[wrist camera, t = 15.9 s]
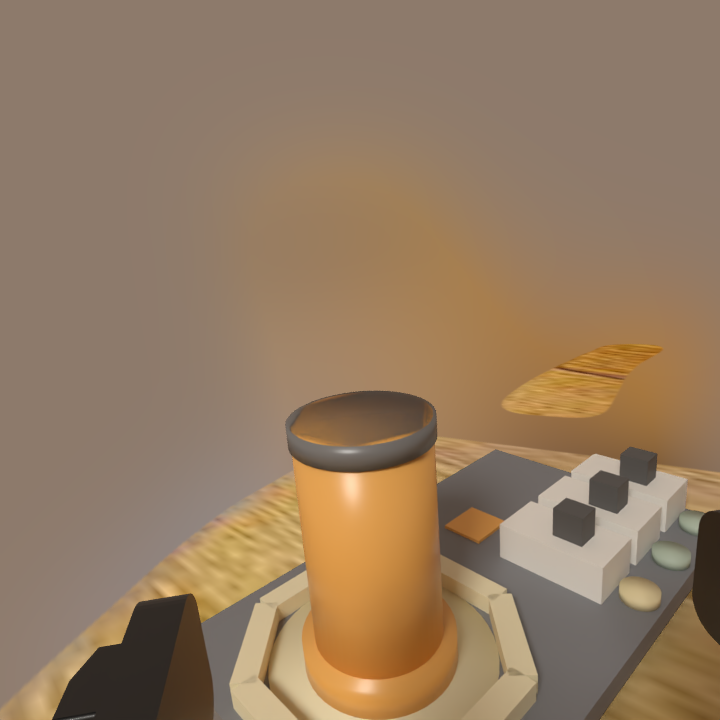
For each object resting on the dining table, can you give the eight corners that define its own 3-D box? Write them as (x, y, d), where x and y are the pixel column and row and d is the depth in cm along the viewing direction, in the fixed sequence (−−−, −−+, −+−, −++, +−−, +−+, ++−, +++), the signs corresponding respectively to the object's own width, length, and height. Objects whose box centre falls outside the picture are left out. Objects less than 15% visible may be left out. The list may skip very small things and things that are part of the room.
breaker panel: (495, 462, 39) (495, 406, 38) (726, 539, 29) (735, 465, 27) (167, 665, 23) (149, 580, 22) (413, 982, 13) (403, 857, 12)
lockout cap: (435, 590, 25) (424, 380, 22) (479, 703, 19) (472, 439, 17) (302, 611, 24) (275, 397, 22) (307, 734, 19) (271, 465, 16)
